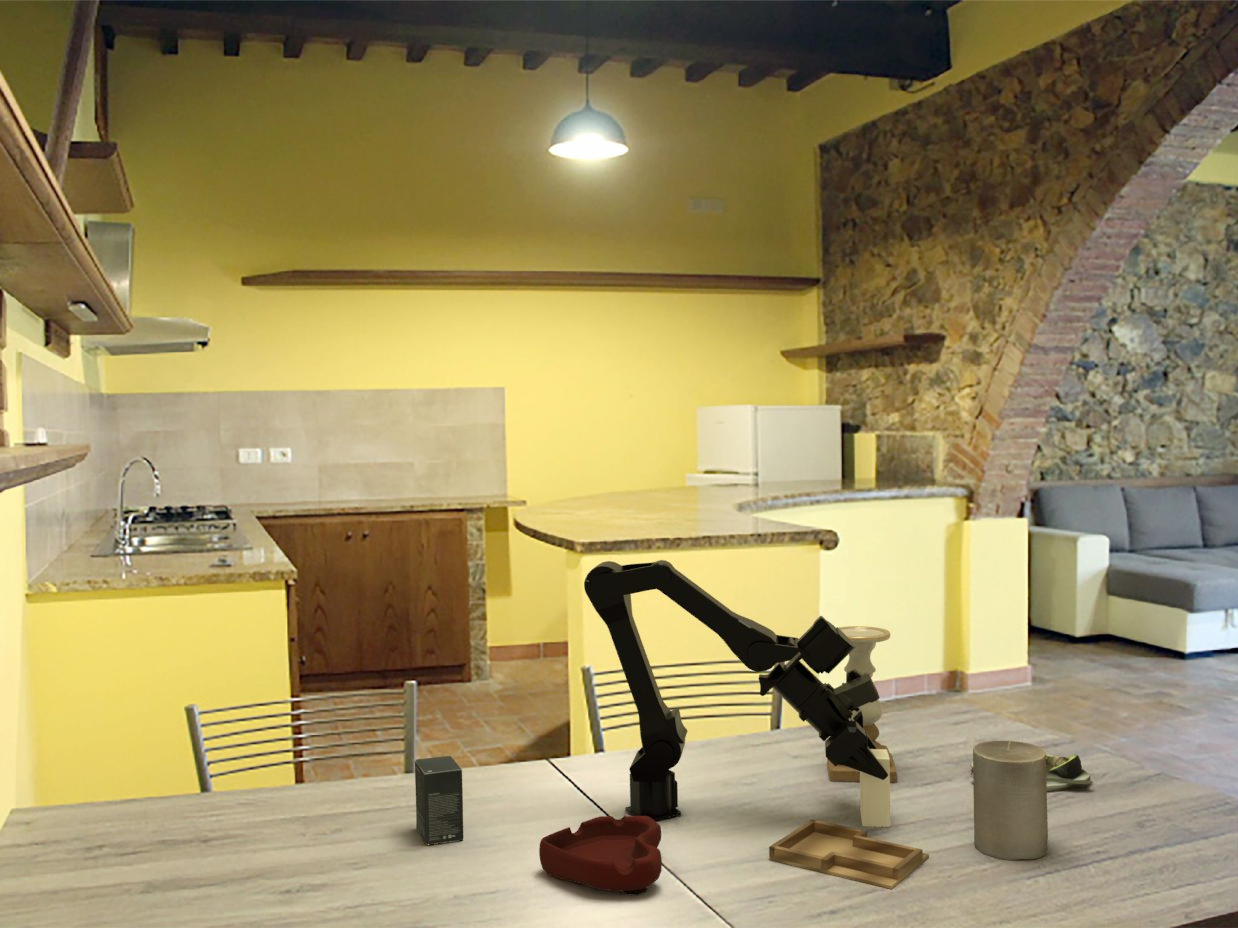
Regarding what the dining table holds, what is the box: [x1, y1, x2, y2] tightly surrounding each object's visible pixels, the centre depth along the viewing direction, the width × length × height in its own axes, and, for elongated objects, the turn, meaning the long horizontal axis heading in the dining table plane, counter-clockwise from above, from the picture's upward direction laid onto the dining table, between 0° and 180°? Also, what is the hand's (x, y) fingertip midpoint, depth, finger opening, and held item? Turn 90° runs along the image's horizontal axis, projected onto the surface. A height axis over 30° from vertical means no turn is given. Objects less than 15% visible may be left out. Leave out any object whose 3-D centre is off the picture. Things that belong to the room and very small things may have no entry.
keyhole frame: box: [768, 819, 930, 890], centre depth 156 cm, size 18×13×2 cm
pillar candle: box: [972, 740, 1049, 861], centre depth 158 cm, size 10×10×15 cm
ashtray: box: [538, 815, 663, 896], centre depth 153 cm, size 18×16×5 cm
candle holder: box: [826, 625, 898, 784], centre depth 193 cm, size 11×11×24 cm
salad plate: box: [970, 753, 1094, 792], centre depth 188 cm, size 19×18×5 cm
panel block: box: [859, 749, 891, 828], centre depth 170 cm, size 4×5×10 cm
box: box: [414, 755, 464, 846], centre depth 168 cm, size 8×6×11 cm
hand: (883, 769), depth 170 cm, fingers open, 7 cm apart
